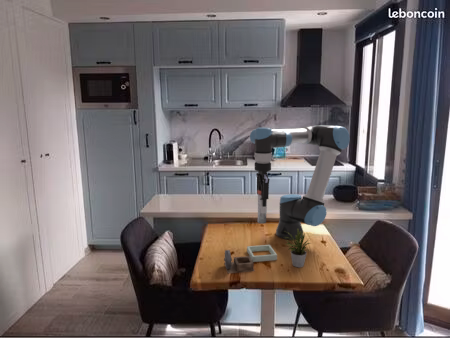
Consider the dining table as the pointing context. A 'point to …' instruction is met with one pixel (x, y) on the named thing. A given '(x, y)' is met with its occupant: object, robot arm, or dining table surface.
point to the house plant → (298, 249)
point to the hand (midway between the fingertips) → (262, 211)
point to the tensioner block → (238, 263)
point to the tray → (261, 257)
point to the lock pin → (260, 215)
